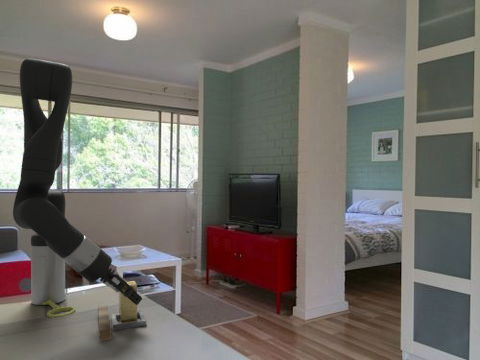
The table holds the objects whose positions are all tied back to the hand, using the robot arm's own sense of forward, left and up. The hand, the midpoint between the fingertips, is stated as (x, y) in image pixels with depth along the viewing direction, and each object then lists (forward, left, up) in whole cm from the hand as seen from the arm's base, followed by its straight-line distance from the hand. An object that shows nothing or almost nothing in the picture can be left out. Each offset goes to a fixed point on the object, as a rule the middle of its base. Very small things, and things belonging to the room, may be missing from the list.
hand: (133, 297), depth 104 cm
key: (-16, -19, -7) cm, 26 cm away
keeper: (0, -1, -6) cm, 6 cm away
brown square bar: (+1, -7, -6) cm, 10 cm away
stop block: (0, -1, -6) cm, 6 cm away
